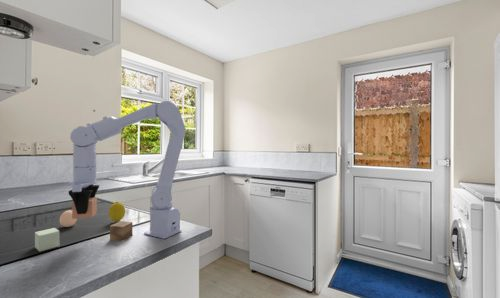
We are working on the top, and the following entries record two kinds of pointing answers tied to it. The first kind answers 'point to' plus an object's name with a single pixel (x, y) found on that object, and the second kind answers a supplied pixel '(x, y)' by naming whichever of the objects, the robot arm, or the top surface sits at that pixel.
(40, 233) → the sage block
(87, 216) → the terracotta block
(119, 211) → the lemon
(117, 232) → the walnut block
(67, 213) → the egg
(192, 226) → the top surface
